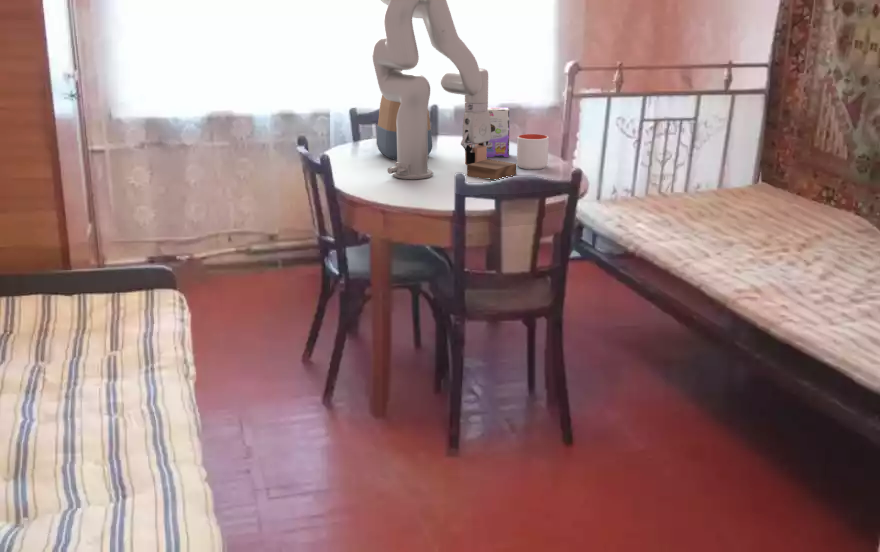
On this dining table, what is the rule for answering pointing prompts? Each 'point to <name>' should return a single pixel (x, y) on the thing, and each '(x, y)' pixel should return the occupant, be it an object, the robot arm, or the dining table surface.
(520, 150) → the cup
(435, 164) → the dining table surface
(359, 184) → the dining table surface
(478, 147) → the brick
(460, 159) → the dining table surface
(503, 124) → the candy box
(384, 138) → the tan two-tone rounded container
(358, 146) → the dining table surface
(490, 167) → the plinth
